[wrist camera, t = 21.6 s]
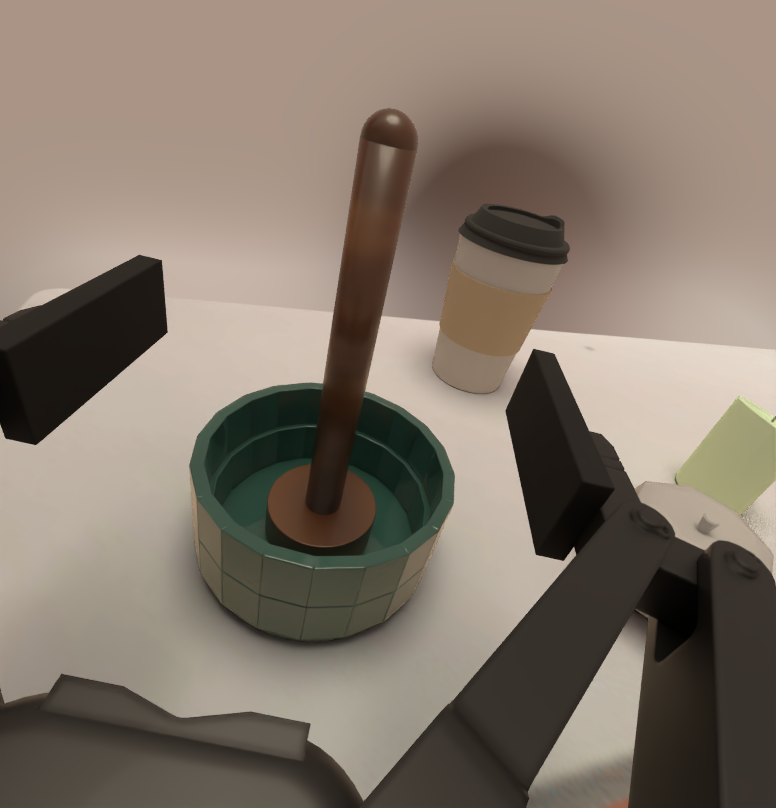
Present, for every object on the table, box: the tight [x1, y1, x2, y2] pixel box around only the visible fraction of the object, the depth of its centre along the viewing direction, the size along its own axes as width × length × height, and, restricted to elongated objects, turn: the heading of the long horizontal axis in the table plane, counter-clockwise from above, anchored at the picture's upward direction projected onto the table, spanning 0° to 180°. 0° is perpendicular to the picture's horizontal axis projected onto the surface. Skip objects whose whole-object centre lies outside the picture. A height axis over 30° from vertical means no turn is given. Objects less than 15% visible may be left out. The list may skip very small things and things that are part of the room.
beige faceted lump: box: [635, 481, 774, 618], centre depth 24 cm, size 8×8×7 cm
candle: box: [676, 396, 776, 515], centre depth 33 cm, size 5×5×8 cm
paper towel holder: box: [265, 108, 418, 556], centre depth 19 cm, size 6×6×19 cm
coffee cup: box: [432, 204, 570, 393], centre depth 39 cm, size 9×9×15 cm
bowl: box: [189, 383, 455, 641], centre depth 23 cm, size 12×12×6 cm
